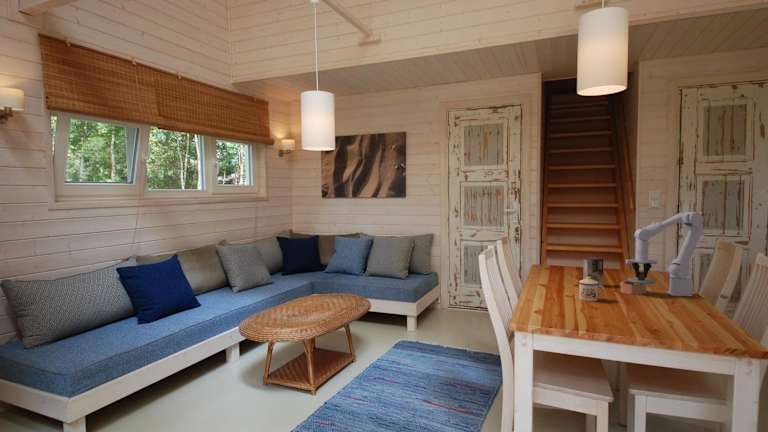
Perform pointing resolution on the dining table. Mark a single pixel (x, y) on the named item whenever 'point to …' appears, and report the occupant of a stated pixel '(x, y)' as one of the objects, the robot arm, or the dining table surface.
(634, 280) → the lid
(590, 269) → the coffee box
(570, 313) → the dining table surface
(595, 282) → the teacup with lid
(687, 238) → the robot arm
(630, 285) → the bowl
